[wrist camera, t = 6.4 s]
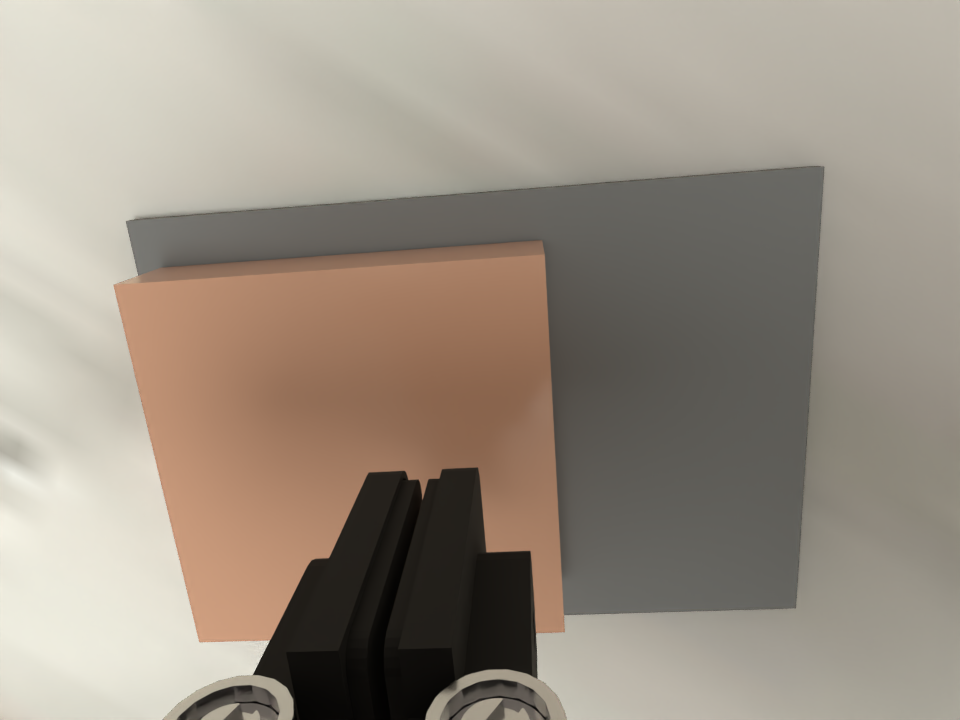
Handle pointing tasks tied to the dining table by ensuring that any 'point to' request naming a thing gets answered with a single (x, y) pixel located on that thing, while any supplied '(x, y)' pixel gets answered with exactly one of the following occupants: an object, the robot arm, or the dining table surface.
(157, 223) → the mat
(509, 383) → the tile
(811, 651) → the dining table surface
